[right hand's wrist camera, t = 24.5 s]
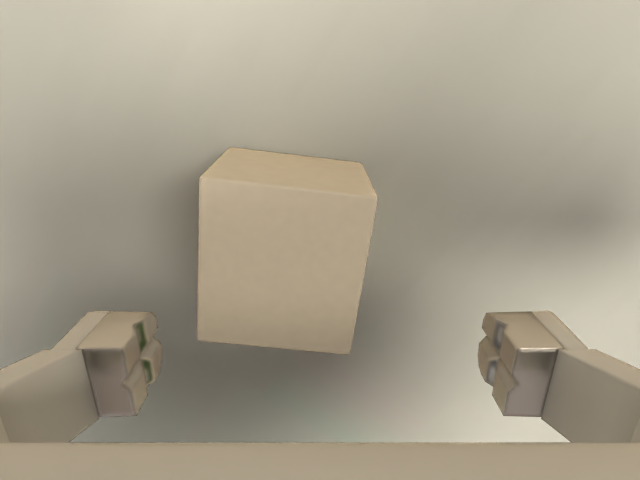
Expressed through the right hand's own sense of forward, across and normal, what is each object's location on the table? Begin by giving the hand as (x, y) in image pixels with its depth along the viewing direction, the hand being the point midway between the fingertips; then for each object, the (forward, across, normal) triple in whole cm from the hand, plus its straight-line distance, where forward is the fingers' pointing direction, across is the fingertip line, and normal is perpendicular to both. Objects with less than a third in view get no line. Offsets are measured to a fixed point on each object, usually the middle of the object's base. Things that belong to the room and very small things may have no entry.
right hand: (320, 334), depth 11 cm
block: (+6, +1, -1) cm, 6 cm away
